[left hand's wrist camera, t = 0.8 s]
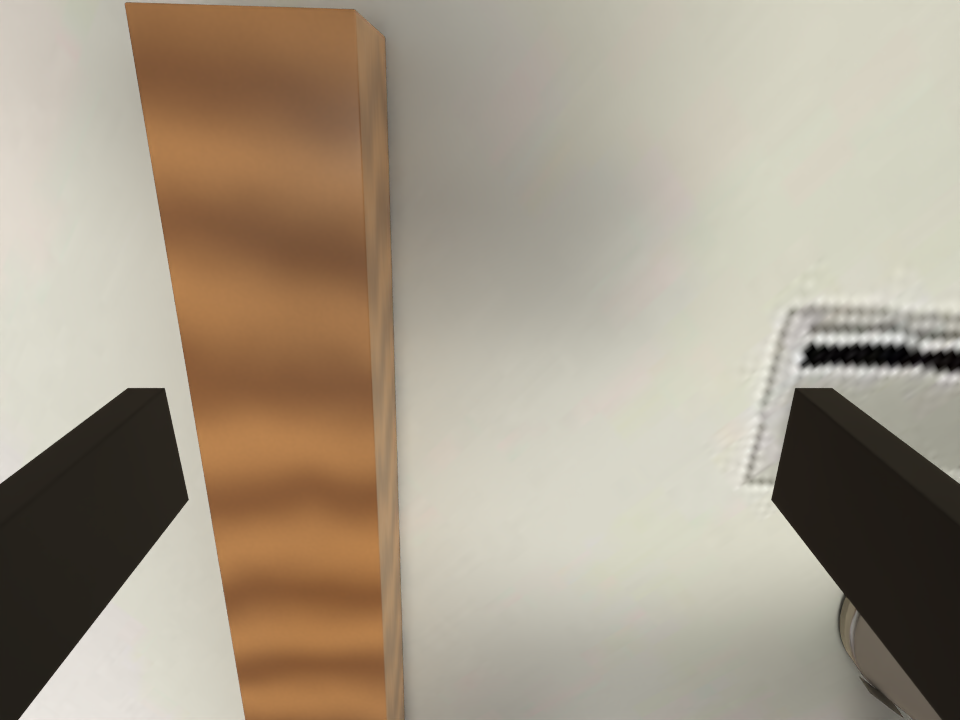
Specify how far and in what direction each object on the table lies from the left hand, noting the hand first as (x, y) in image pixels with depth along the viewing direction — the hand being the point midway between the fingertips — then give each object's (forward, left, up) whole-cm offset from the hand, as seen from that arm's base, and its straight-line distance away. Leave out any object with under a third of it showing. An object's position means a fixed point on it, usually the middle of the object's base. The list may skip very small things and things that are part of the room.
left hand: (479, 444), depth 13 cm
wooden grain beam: (+17, -9, -22) cm, 29 cm away
